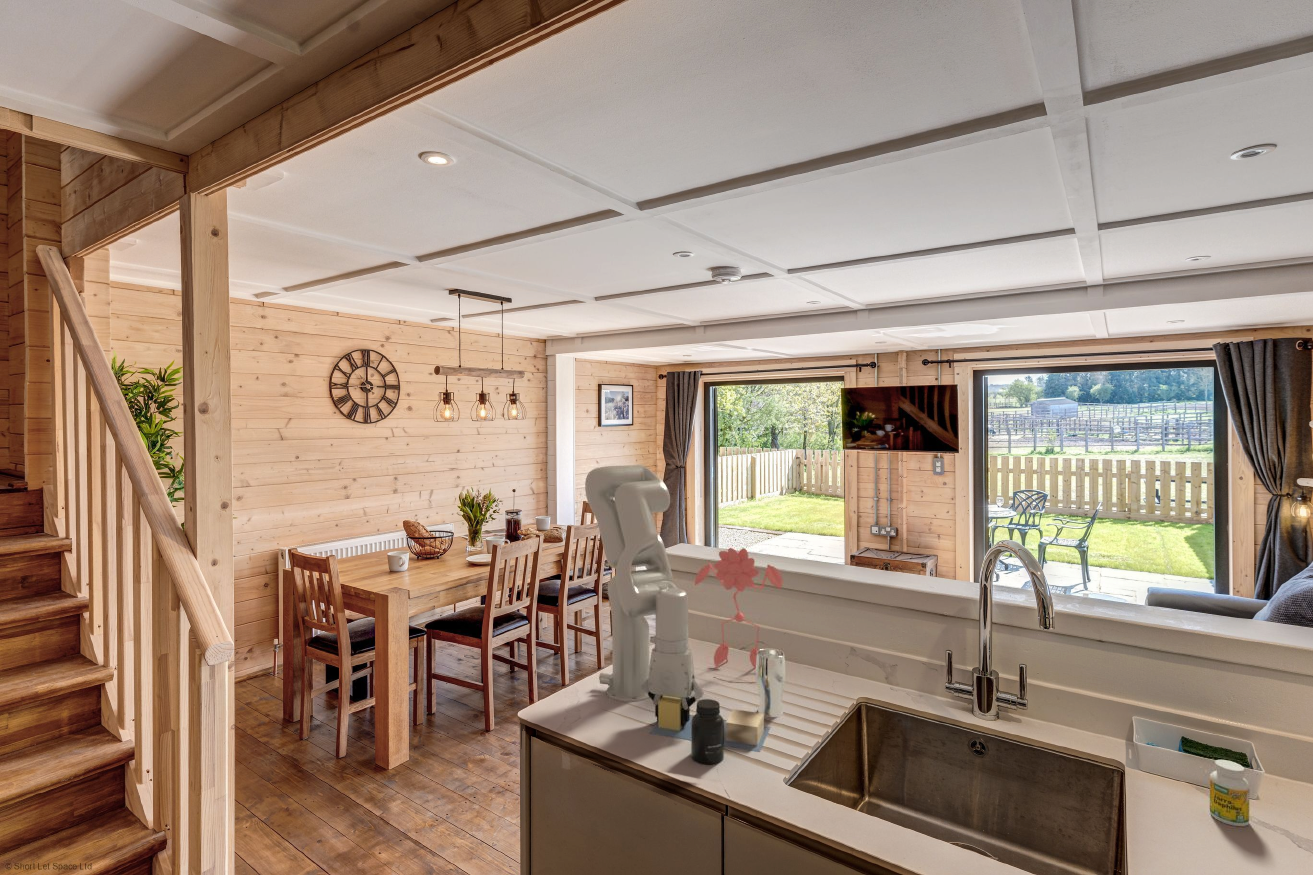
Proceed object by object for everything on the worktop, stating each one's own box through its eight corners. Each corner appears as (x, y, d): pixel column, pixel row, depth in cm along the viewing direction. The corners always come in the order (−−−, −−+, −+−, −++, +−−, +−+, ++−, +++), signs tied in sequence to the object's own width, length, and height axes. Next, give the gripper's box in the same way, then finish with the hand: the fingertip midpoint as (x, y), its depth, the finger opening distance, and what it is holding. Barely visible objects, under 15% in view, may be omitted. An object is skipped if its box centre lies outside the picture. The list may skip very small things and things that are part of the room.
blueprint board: (648, 736, 151) (648, 733, 151) (666, 714, 163) (666, 710, 163) (759, 755, 143) (759, 751, 143) (770, 730, 154) (770, 727, 154)
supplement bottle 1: (714, 772, 136) (714, 713, 136) (685, 763, 140) (685, 705, 139) (729, 757, 142) (729, 701, 142) (701, 749, 146) (700, 694, 145)
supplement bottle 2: (1250, 818, 120) (1251, 764, 119) (1247, 831, 116) (1249, 776, 116) (1211, 805, 124) (1212, 754, 123) (1207, 818, 120) (1208, 765, 119)
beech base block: (725, 740, 148) (725, 722, 148) (733, 726, 154) (733, 709, 154) (757, 745, 145) (757, 727, 145) (763, 731, 152) (763, 713, 152)
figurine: (700, 656, 201) (699, 539, 199) (787, 669, 191) (787, 546, 189) (682, 675, 187) (681, 550, 185) (774, 690, 177) (774, 558, 175)
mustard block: (658, 726, 154) (658, 701, 154) (665, 717, 159) (665, 692, 159) (679, 730, 152) (679, 704, 152) (686, 720, 157) (685, 695, 157)
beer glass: (785, 722, 158) (785, 659, 157) (754, 720, 159) (754, 657, 159) (785, 709, 165) (785, 648, 164) (756, 707, 166) (756, 647, 166)
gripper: (631, 644, 155) (631, 723, 155) (703, 653, 149) (703, 735, 149) (643, 634, 162) (643, 709, 162) (712, 642, 156) (712, 720, 156)
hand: (672, 721), depth 156 cm, fingers open, 5 cm apart
